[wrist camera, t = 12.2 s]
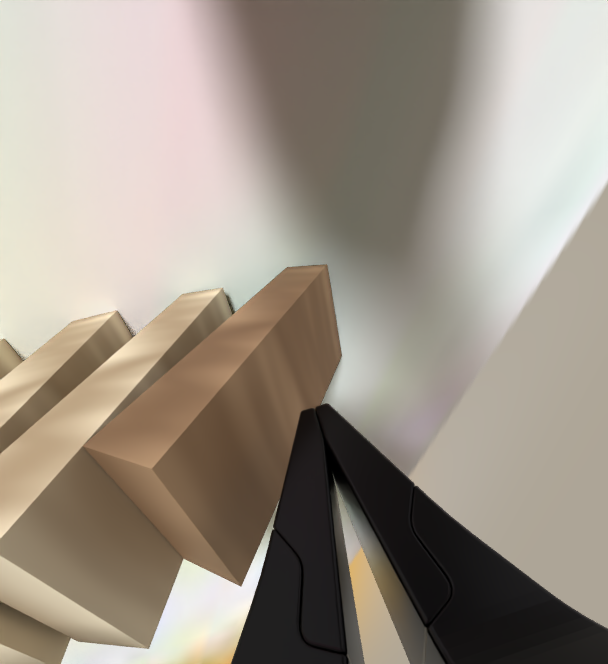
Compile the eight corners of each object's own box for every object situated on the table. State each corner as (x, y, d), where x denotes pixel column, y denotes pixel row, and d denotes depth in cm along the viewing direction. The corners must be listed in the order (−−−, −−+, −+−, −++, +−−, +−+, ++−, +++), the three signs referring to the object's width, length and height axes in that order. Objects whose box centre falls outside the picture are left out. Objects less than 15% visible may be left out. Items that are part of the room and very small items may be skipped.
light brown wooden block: (222, 287, 13) (-10, 549, 4) (254, 374, 15) (148, 648, 7) (182, 293, 13) (-106, 546, 5) (219, 377, 16) (78, 641, 7)
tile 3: (117, 310, 13) (-152, 580, 4) (165, 392, 15) (58, 669, 7) (72, 321, 13) (-299, 622, 4) (127, 402, 15) (-30, 696, 7)
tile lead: (327, 264, 12) (151, 468, 5) (341, 355, 15) (241, 586, 7) (286, 267, 13) (82, 445, 6) (307, 353, 16) (184, 558, 8)
